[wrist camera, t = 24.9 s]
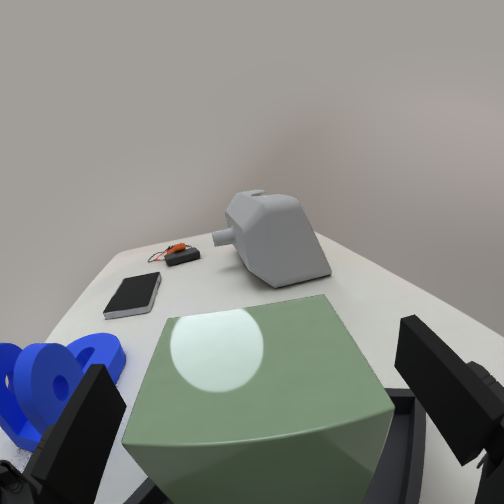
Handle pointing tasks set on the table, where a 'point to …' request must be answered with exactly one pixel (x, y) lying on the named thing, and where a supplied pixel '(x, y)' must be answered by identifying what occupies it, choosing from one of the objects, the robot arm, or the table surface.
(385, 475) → the tray
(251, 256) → the tank
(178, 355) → the green block
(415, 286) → the table surface
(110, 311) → the smartphone
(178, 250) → the multimeter
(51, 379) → the bracket
